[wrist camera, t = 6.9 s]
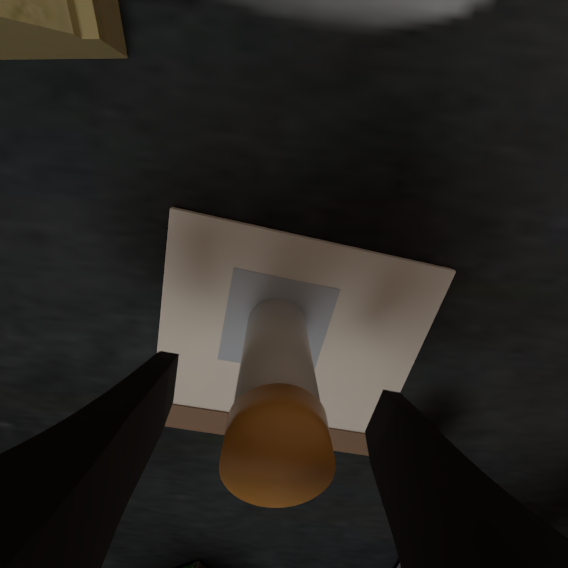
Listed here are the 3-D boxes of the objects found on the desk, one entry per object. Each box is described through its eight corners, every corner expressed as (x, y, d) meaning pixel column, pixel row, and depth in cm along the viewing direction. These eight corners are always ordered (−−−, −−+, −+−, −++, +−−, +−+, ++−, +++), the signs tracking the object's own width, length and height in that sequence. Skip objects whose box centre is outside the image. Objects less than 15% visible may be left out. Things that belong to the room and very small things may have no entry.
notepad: (369, 448, 19) (371, 456, 18) (153, 416, 17) (150, 424, 17) (451, 268, 14) (457, 271, 14) (172, 206, 13) (169, 208, 13)
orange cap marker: (298, 355, 16) (318, 513, 9) (240, 345, 15) (211, 500, 8) (314, 303, 14) (350, 435, 8) (251, 290, 14) (229, 416, 7)
